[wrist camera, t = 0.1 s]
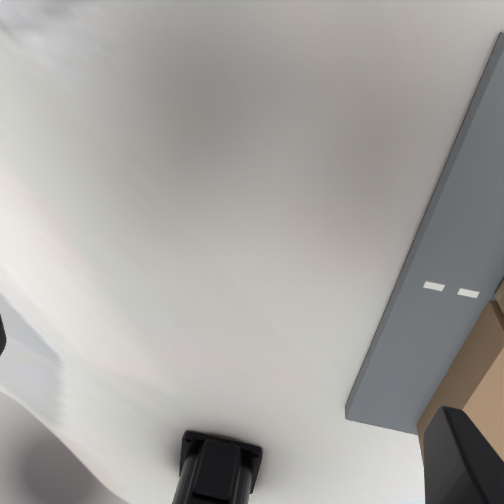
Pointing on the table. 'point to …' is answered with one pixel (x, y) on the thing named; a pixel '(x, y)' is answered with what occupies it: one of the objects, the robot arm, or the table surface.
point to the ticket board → (448, 292)
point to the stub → (500, 296)
